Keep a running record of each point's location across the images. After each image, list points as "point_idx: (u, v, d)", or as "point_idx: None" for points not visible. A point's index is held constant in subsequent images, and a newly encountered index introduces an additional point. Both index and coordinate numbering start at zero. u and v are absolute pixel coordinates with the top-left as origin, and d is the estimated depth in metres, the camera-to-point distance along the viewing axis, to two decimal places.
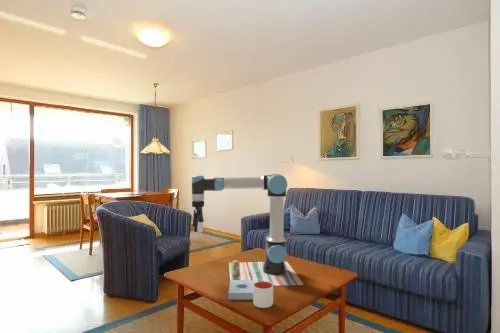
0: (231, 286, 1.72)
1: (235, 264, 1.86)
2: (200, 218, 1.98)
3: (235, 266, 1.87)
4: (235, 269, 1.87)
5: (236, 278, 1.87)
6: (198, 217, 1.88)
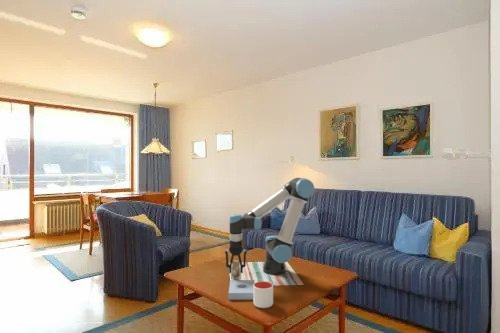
0: (231, 286, 1.72)
1: (235, 264, 1.86)
2: None
3: (235, 266, 1.87)
4: (235, 269, 1.86)
5: (236, 278, 1.87)
6: (231, 258, 1.87)
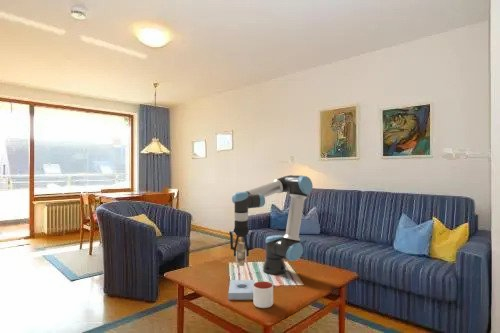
0: (231, 286, 1.72)
1: (241, 246, 1.70)
2: (245, 244, 1.72)
3: (240, 248, 1.70)
4: (240, 252, 1.70)
5: (241, 261, 1.70)
6: (236, 240, 1.71)
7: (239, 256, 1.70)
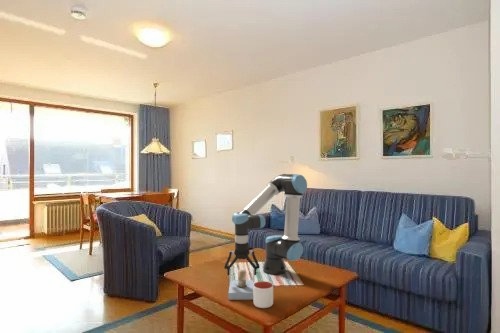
0: (231, 286, 1.72)
1: (242, 274, 1.70)
2: None
3: (241, 276, 1.70)
4: (241, 280, 1.70)
5: None
6: (233, 260, 1.70)
7: (240, 284, 1.70)
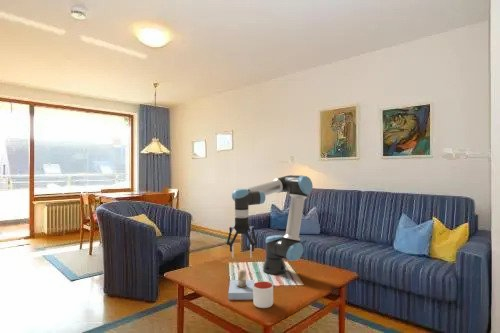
0: (231, 286, 1.72)
1: (242, 274, 1.70)
2: (249, 240, 1.71)
3: (241, 276, 1.70)
4: (241, 280, 1.70)
5: None
6: (234, 236, 1.70)
7: (240, 284, 1.70)
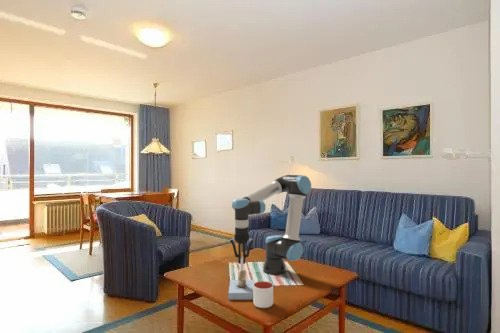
0: (231, 286, 1.72)
1: (242, 274, 1.70)
2: (243, 251, 1.71)
3: (241, 276, 1.70)
4: (241, 280, 1.70)
5: None
6: (238, 247, 1.70)
7: (240, 284, 1.70)
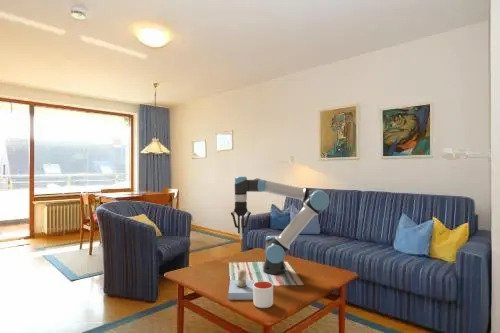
0: (231, 286, 1.72)
1: (242, 274, 1.70)
2: (242, 222, 1.94)
3: (241, 276, 1.70)
4: (241, 280, 1.70)
5: None
6: None
7: (240, 284, 1.70)
